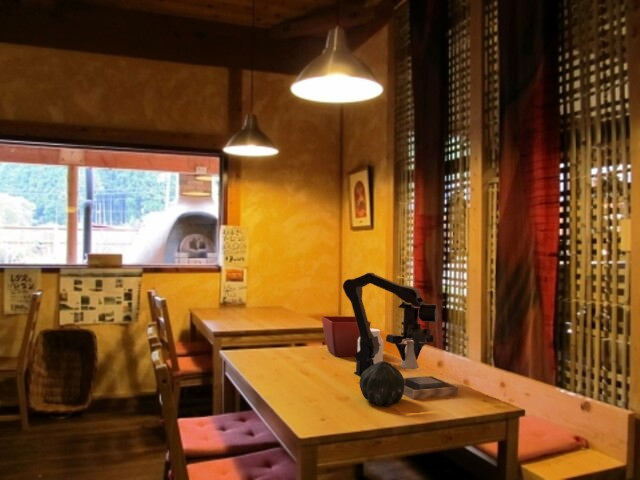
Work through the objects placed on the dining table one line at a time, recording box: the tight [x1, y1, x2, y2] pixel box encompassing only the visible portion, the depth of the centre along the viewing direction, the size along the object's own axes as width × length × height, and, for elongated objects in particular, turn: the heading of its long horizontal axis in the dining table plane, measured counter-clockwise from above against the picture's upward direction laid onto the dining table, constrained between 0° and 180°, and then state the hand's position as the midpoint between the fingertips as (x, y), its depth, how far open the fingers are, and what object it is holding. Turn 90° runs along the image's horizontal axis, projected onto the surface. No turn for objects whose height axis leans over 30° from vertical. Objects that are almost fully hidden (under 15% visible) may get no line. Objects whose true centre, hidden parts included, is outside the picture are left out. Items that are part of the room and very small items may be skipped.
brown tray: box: [403, 375, 459, 401], centre depth 191 cm, size 18×16×4 cm
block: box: [405, 376, 441, 390], centre depth 191 cm, size 9×9×4 cm
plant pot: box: [321, 315, 371, 357], centre depth 257 cm, size 19×19×17 cm
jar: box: [358, 327, 384, 364], centre depth 237 cm, size 12×10×15 cm
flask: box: [400, 340, 420, 370], centre depth 208 cm, size 7×7×10 cm
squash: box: [359, 360, 405, 407], centre depth 178 cm, size 14×15×15 cm
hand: (409, 360), depth 208 cm, fingers closed on flask, 5 cm apart
